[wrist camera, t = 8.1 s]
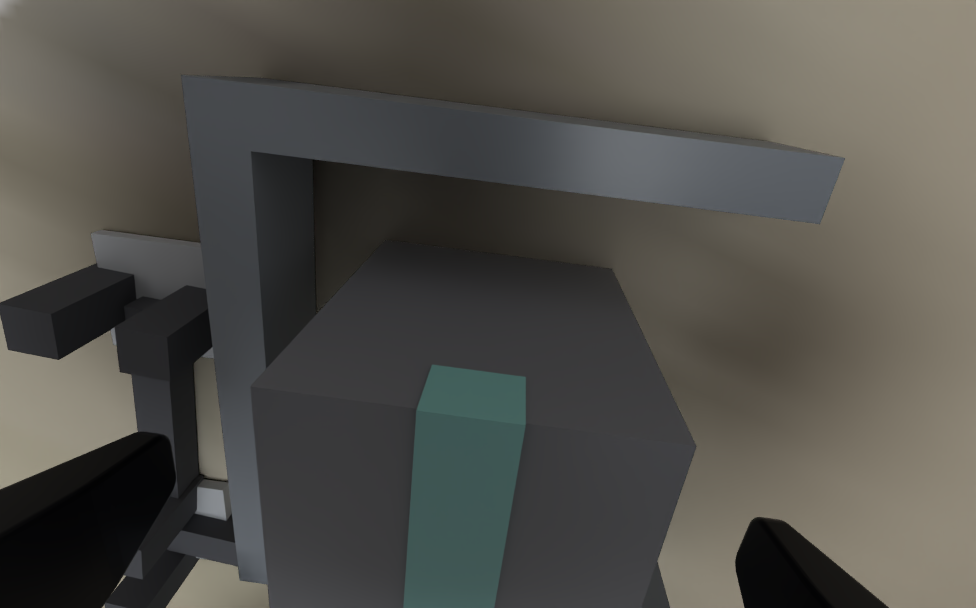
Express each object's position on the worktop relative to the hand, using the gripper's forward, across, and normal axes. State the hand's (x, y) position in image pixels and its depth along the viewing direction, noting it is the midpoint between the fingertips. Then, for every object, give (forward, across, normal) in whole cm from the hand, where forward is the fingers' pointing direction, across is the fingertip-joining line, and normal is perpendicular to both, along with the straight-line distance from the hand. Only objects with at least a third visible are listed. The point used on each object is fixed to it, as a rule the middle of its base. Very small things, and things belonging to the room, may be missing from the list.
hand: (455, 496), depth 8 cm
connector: (+5, 0, 0) cm, 5 cm away
